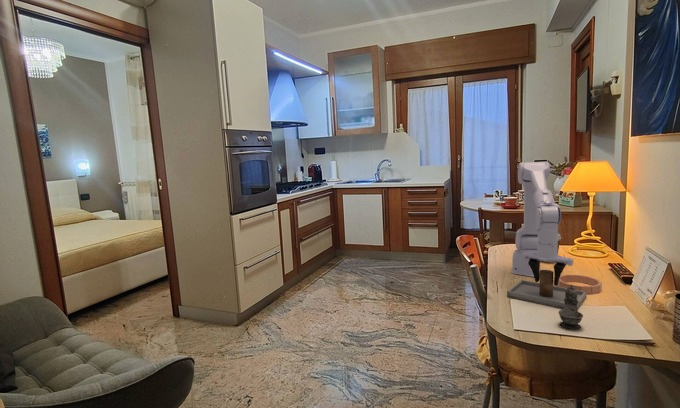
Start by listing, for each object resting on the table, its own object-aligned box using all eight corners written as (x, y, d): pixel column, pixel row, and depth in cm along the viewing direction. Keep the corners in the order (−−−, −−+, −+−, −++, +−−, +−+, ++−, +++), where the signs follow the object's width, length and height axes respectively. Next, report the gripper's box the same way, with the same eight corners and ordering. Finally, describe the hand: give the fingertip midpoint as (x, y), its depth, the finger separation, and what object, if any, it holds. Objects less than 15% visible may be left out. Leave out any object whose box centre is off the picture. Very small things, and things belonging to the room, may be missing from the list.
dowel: (537, 295, 126) (537, 272, 125) (541, 291, 129) (541, 269, 128) (550, 298, 123) (551, 274, 122) (554, 294, 126) (555, 271, 125)
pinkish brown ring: (553, 288, 133) (553, 281, 133) (562, 278, 142) (563, 272, 142) (596, 296, 124) (596, 289, 124) (604, 285, 133) (604, 278, 133)
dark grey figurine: (553, 322, 108) (554, 281, 107) (572, 320, 109) (574, 280, 107) (567, 331, 102) (568, 289, 101) (587, 330, 103) (589, 287, 101)
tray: (507, 297, 128) (507, 291, 127) (521, 285, 138) (521, 279, 137) (575, 311, 114) (576, 305, 114) (586, 297, 124) (586, 291, 124)
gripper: (519, 242, 126) (519, 282, 127) (569, 248, 116) (568, 291, 117) (526, 238, 131) (526, 276, 132) (575, 243, 121) (574, 284, 122)
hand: (546, 283), depth 125 cm, fingers open, 5 cm apart
